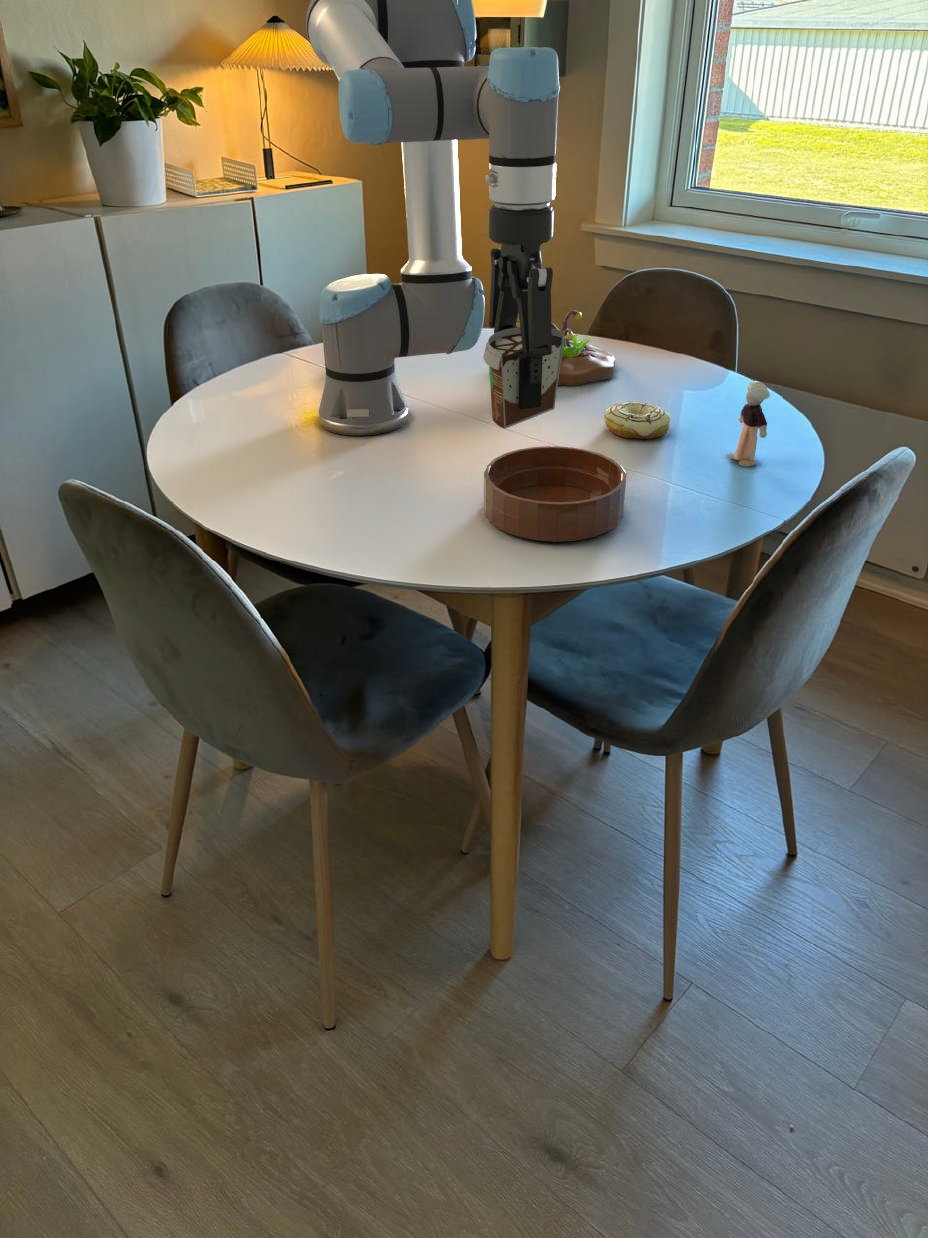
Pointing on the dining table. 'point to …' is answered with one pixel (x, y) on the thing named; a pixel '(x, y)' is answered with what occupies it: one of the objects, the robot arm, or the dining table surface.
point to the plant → (582, 359)
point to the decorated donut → (637, 420)
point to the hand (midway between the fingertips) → (517, 396)
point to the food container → (506, 376)
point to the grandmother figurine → (751, 424)
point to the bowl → (554, 493)
